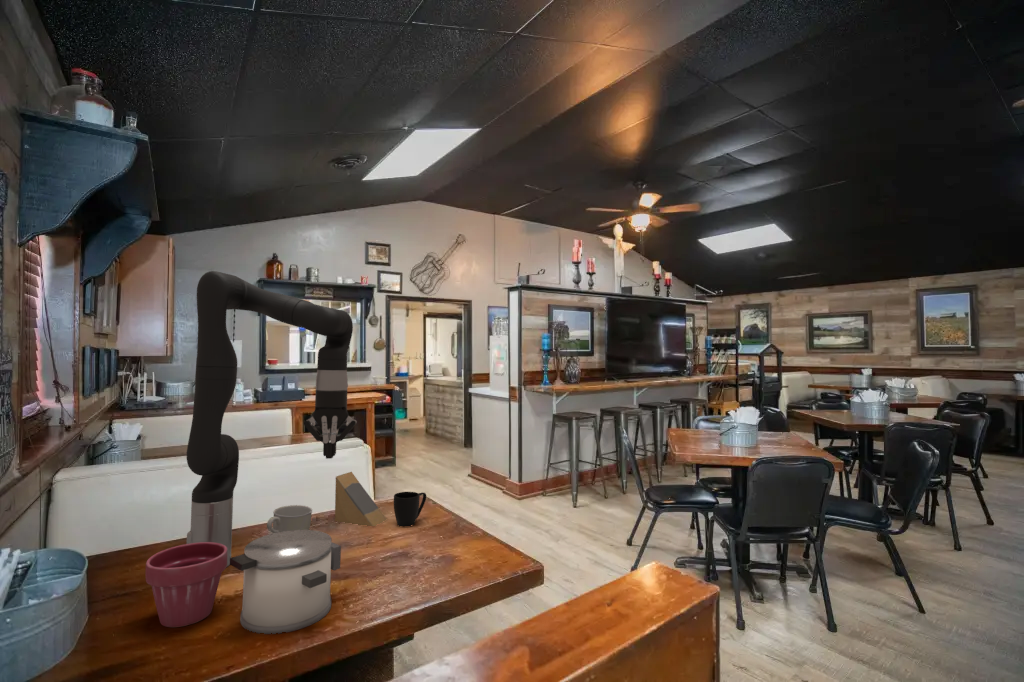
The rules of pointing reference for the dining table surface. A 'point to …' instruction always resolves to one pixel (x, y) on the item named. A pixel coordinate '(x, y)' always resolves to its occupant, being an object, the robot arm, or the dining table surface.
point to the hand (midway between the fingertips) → (329, 457)
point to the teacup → (290, 518)
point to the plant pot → (186, 581)
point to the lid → (284, 550)
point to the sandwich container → (355, 503)
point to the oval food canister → (288, 595)
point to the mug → (407, 507)
